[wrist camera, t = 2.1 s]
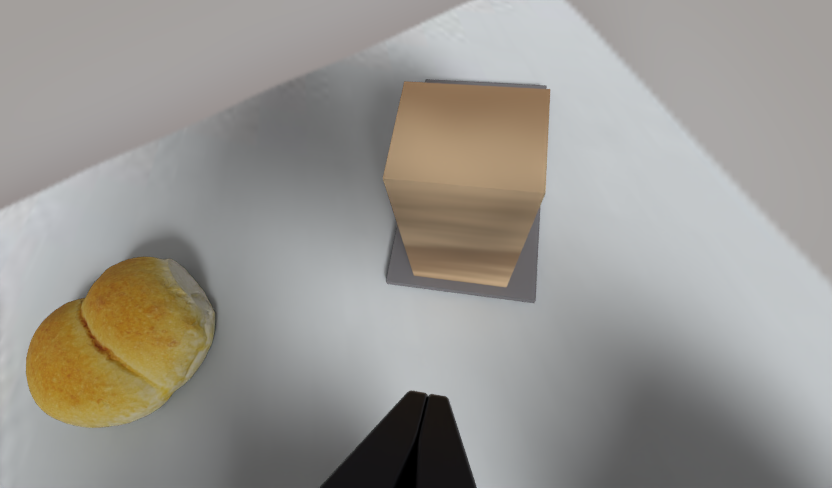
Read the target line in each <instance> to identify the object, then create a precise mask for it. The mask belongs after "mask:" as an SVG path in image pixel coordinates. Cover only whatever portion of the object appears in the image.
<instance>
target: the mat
mask: <svg viewBox="0 0 832 488" xmlns="http://www.w3.org/2000/svg"><path fill="white" fill-rule="evenodd" d="M425 83H442V84H461V85H479V86H498V87H516V88H535V89H546V86H542V85H523V84H504V83H485V82H466V81H447V80H428V79H426V81H425ZM539 221H540V207H539V210H538V212H537V214H536V217H535V219H534V222H533V224H532V227H531V229H530V231H529V234H528V236H527V239H526V241H525V244H524V246H523V248H522V251H521V253H520V256H519V258H518V261H517V263H516V265H515V268H514V270H513V273H512V275H511V277H510V280H509V282H508V285H507V287H499V286H491V285H483V284H476V283H468V282H460V281H452V280H444V279H436V278H428V277H421V276H414V274H413V271H412V268H411V265H410V262H409V259H408V256H407V253H406V249H405V246H404V243H403V240H402V237H401V234H400V231H399V228H398V225H397V228H396V233H395V238H394V243H393V248H392V253H391V258H390V263H389V269H388V274H387V279H386V282H387V284H393V285H401V286H408V287H416V288H424V289H431V290H439V291H446V292H454V293H462V294H469V295H477V296H484V297H492V298H500V299H507V300H515V301H522V302H530V303H534V302H535V298H536V279H537V260H538V240H539Z"/></svg>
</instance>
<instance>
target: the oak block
mask: <svg viewBox="0 0 832 488" xmlns="http://www.w3.org/2000/svg"><path fill="white" fill-rule="evenodd" d="M549 104H550V89H535V88H516V87H498V86H479V85H461V84H442V83H423V82H405V81H404V85H403V90H402V94H401V98H400V103H399V107H398V112H397V116H396V121H395V125H394V130H393V134H392V139H391V143H390V148H389V152H388V157H387V161H386V166H385V170H384V175H383V181H384V184H385V187H386V190H387V193H388V196H389V200H390V203H391V206H392V209H393V212H394V215H395V218H396V221H397V225H398V228H399V231H400V234H401V237H402V240H403V243H404V246H405V249H406V253H407V256H408V259H409V262H410V265H411V268H412V271H413V274H414V276H421V277H428V278H436V279H444V280H452V281H460V282H468V283H476V284H483V285H491V286H499V287H507V285H508V282H509V280H510V277H511V275H512V273H513V270H514V268H515V265H516V263H517V261H518V258H519V256H520V253H521V251H522V248H523V246H524V244H525V241H526V239H527V236H528V234H529V231H530V229H531V227H532V224H533V222H534V219H535V217H536V214H537V212H538V210H539V207H540V205H541V202H542V200H543V198H544V195H545V189H546V168H547V147H548V125H549Z"/></svg>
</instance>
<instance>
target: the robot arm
mask: <svg viewBox="0 0 832 488" xmlns="http://www.w3.org/2000/svg"><path fill="white" fill-rule="evenodd" d="M320 488H477V487H476V484H475V480H474V477H473V474H472V471H471V468H470V465H469V462H468V458H467V455H466V452H465V449H464V446H463V443H462V440H461V436H460V433H459V430H458V427H457V424H456V421H455V418H454V414H453V411H452V408H451V405H450V402H449V399H448V398H447V397H446V396H440V395H434V394H430V395H429V396H428V395H427V394H426V393H423V392H417V391H409V392H407V393H406V394H405V395H404V397H403V398H402V399H401V400H400V401H399V402H398V403H397V404H396V405H395V406H394V407H393V408H392V410H391V411H390V412H389V413H388V414H387V415H386V416H385V417H384V418H383V419H382V420H381V421H380V423H379V424H378V425H377V426H376V427H375V428H374V429H373V430H372V431H371V432H370V433H369V434H368V436H367V437H366V438H365V439H364V440H363V441H362V442H361V443H360V444H359V445H358V446H357V447H356V449H355V450H354V451H353V452H352V453H351V454H350V455H349V456H348V457H347V458H346V459H345V460H344V462H343V463H342V464H341V465H340V466H339V467H338V468H337V469H336V470H335V471H334V472H333V473H332V475H331V476H330V477H329V478H328V479H327V480H326V481H325V482H324V483H323V484H322V485H321V486H320Z"/></svg>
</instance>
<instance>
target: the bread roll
mask: <svg viewBox="0 0 832 488" xmlns="http://www.w3.org/2000/svg"><path fill="white" fill-rule="evenodd" d="M214 332H215V312H214V310H213V308H212V306H211V304H210V302H209V300H208V298H207V296H206V294H205V292H204V291H203V289H202V288H201V287H200V286H199V284H198V283H197V282H196V281H195V280H194V279H193V277H192V276H191V275H190V274H189V273H188V272H187V270H186V269H185V268H184V267H182V266H181V265H179V264H178V263H177V262H176V261H174V260H172V259H170V258H169V259H158V258H154V257H137V258H132V259H128V260H125V261H122V262H120V263H118V264H116V265H113V266H111V267H110V268H108V269H107V270H106V271H105V272H104V273H103V274H102V275H101V276H100V277H99V278H98V279H97V280H96V282H95V283H94V284H93V285H92V287H91V288H90V290H89V292H88V294H87V296H86V298H82V299H78V300H75V301H71V302H68V303H66V304H64V305H62V306H61V307H60V308H58V309H56V310H55V311H54V312H53V313H51V314H50V315H49V316H48V317H47V318H46V319H45V320H44V321H43V322H42V323H41V325H40V326H39V327H38V329H37V330H36V332H35V333H34V335H33V338H32V340H31V342H30V345H29V349H28V353H27V357H26V376H27V381H28V386H29V389H30V392H31V395H32V397H33V399H34V400H35V402H36V404H37V405H38V406H39V407H40V408H41V409H42V410H43V411H44V412H45V413H46V414H48V415H49V416H51V417H53V418H55V419H57V420H60V421H62V422H64V423H67V424H72V425H75V426H81V427H92V428H100V427H109V426H116V425H122V424H126V423H130V422H132V421H135V420H138V419H140V418H142V417H146V416H147V415H149V414H151V413H152V412H154V411H155V410H157V409H159V408H160V407H161V406H162V405H164V404H165V403H166V402H167V401H168V399H169V398H170V397H171V395H172V394H173V393H174V392H175V391H176V390H177V389H179V388H180V387H181V386H182V385H184V384H185V383H186V382H187V381H188V380H189V379H190V378H191V377H192V376H193V375H194V373H195V372H196V371H197V369H198V368H199V367H200V365H201V363H202V362H203V360H204V359H205V357H206V355H207V353H208V351H209V348H210V346H211V344H212V341H213V336H214Z"/></svg>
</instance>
